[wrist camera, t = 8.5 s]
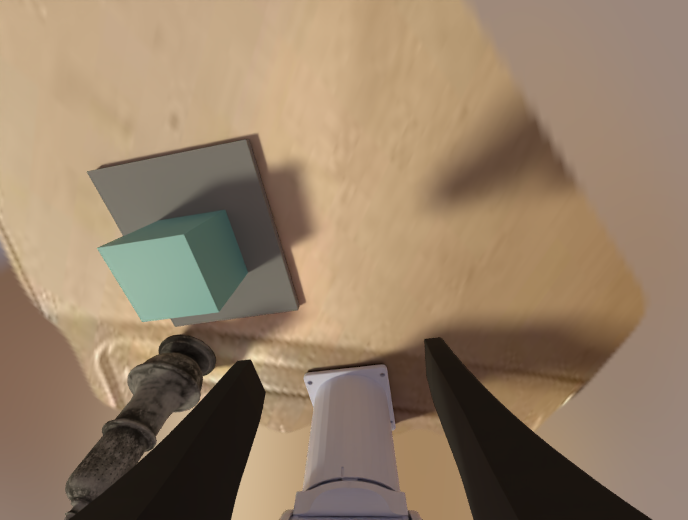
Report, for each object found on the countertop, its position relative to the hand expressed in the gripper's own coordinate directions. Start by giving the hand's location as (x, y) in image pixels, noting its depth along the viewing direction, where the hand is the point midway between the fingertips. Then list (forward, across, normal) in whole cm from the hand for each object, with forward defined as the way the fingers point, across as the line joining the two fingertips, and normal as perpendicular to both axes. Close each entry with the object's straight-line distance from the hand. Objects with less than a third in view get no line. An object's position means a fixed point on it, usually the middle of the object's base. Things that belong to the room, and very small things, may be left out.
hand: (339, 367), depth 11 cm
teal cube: (+10, +10, -3) cm, 14 cm away
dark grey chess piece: (+11, +16, +8) cm, 21 cm away
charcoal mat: (+10, +10, -3) cm, 15 cm away
